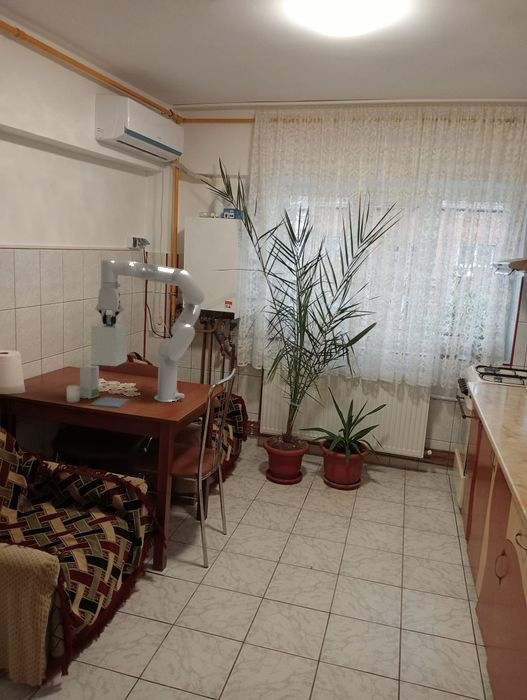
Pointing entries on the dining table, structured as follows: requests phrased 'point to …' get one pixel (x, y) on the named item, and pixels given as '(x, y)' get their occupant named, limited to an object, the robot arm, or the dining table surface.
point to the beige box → (108, 343)
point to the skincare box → (89, 381)
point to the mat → (109, 402)
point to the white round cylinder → (73, 393)
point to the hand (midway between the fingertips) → (109, 323)
